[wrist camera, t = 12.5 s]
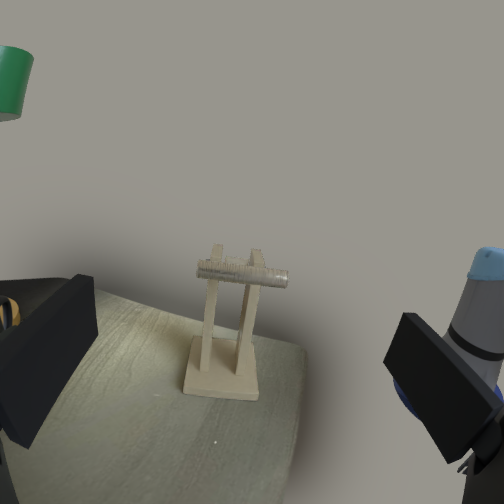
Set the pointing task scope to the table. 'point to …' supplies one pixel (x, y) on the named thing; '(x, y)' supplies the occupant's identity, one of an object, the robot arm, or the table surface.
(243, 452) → the table surface
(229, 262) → the switch
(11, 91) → the lamp
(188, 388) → the beige wooden upright stand
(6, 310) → the mug
